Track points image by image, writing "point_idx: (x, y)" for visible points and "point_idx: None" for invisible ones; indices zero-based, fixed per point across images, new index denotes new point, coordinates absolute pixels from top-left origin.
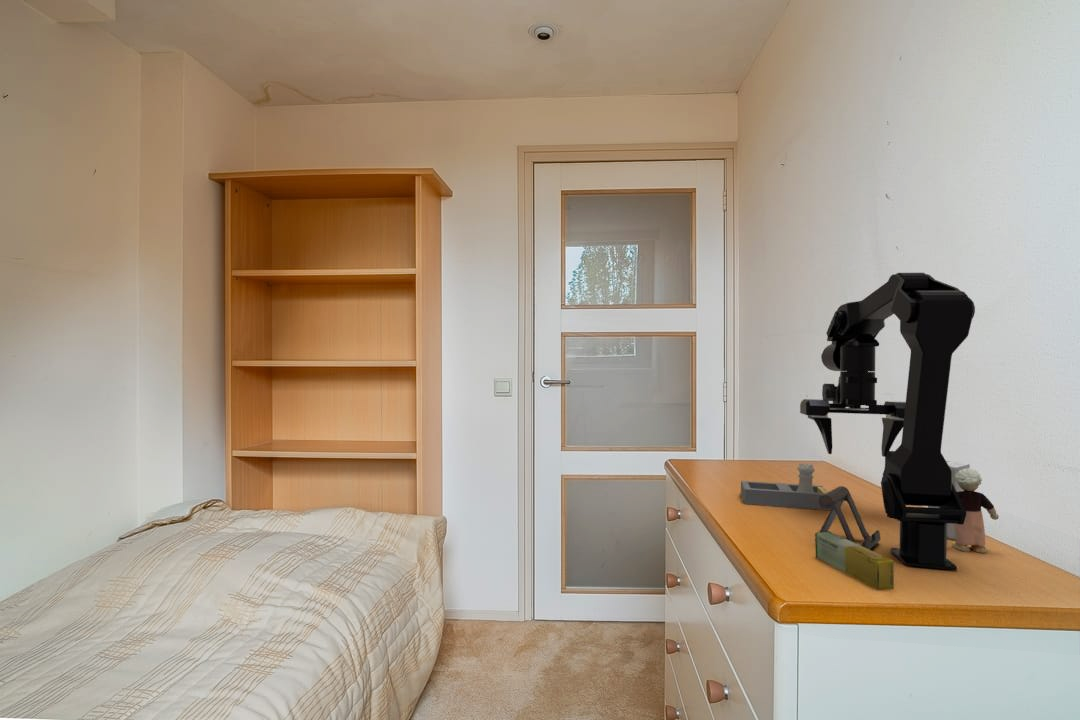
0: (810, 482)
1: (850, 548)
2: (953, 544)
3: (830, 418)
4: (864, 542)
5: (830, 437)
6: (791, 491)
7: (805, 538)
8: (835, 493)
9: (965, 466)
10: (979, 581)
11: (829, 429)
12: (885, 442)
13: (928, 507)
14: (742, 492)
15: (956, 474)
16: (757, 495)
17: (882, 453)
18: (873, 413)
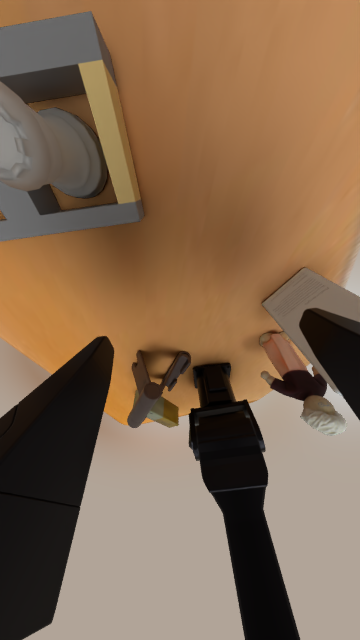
0: (63, 173)
1: (156, 421)
2: (261, 339)
3: (48, 620)
4: (170, 390)
5: (91, 436)
6: (38, 223)
7: (122, 362)
8: (143, 418)
9: None
10: (232, 389)
11: (71, 497)
12: (345, 379)
13: (279, 325)
14: None
15: (313, 421)
16: None
17: (310, 320)
18: None
